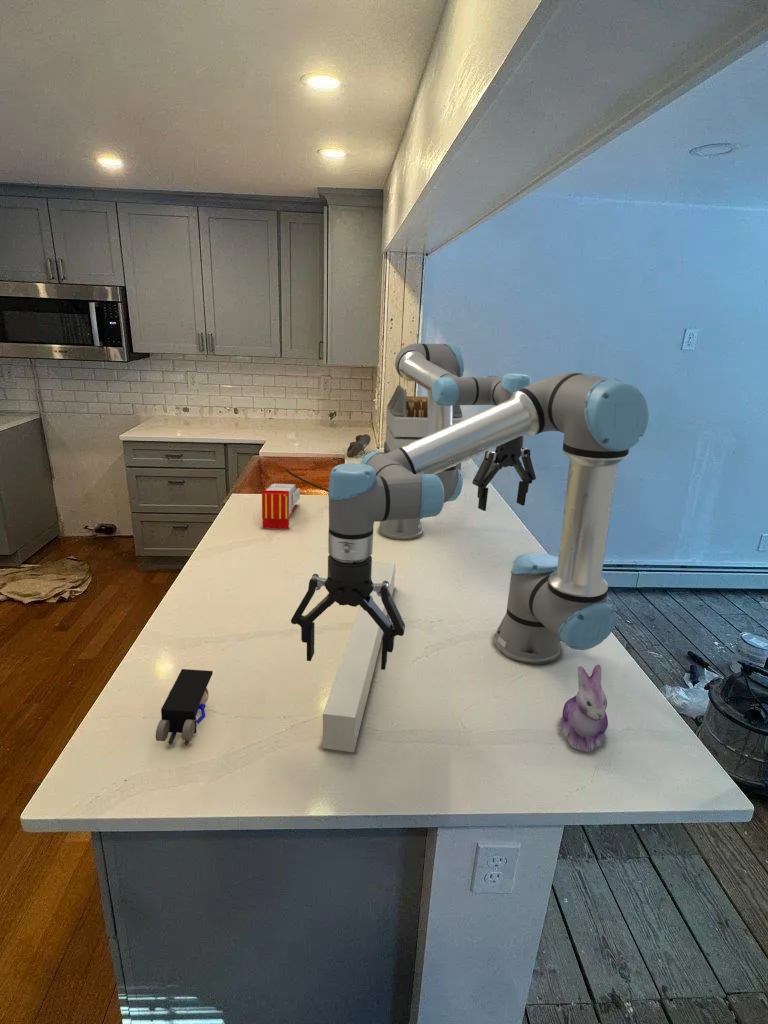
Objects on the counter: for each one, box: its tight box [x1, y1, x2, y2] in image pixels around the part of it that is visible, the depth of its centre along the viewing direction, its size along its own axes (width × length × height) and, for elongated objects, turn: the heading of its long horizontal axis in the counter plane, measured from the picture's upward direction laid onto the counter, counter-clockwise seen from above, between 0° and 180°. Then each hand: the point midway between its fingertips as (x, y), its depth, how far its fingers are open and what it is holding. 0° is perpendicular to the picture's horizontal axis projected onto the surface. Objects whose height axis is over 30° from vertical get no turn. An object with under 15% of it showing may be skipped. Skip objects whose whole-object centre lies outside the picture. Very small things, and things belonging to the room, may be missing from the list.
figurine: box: [560, 663, 609, 753], centre depth 105 cm, size 9×10×15 cm
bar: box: [322, 561, 396, 753], centre depth 130 cm, size 64×6×8 cm, turn 173°
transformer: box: [383, 384, 465, 473], centre depth 268 cm, size 34×33×41 cm
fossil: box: [346, 433, 372, 458], centre depth 305 cm, size 22×10×15 cm
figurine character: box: [155, 668, 214, 746], centre depth 105 cm, size 7×8×15 cm
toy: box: [261, 483, 301, 530], centre depth 210 cm, size 12×13×30 cm
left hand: (501, 506), depth 161 cm, fingers open, 13 cm apart
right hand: (346, 661), depth 103 cm, fingers open, 13 cm apart
